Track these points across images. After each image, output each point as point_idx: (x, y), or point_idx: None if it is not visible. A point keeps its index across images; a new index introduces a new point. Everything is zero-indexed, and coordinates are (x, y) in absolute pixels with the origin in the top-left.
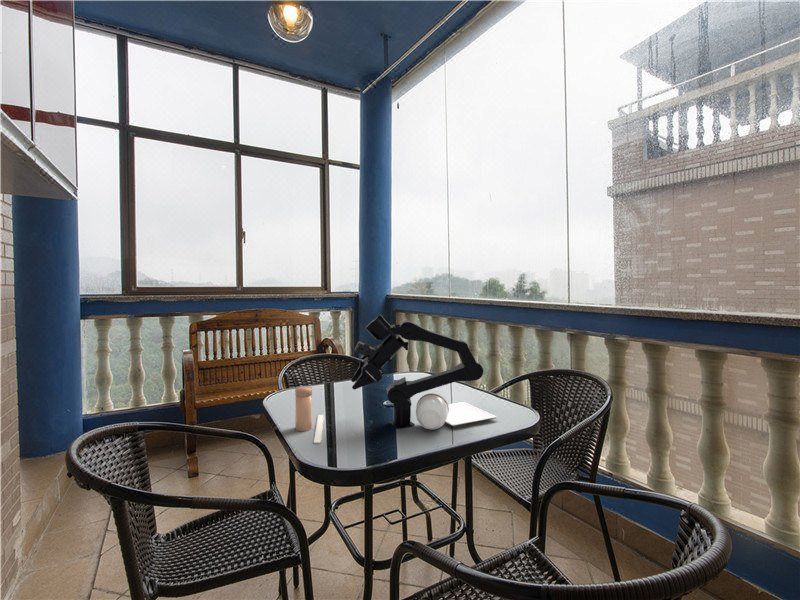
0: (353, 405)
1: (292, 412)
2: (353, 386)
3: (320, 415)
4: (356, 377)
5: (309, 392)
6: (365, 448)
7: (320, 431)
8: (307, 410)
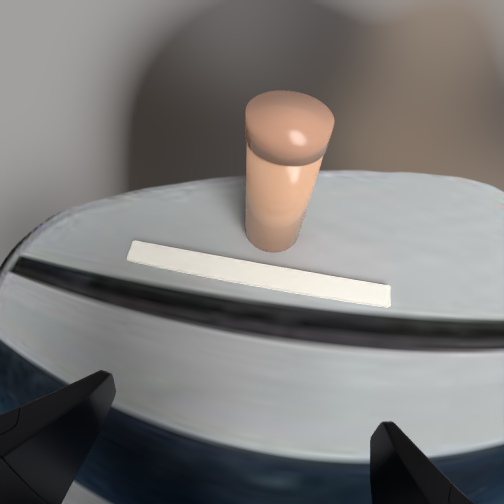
0: (465, 419)
1: (421, 217)
2: (89, 379)
3: (382, 293)
4: (385, 476)
5: (254, 139)
6: (47, 372)
7: (213, 271)
8: (248, 191)
